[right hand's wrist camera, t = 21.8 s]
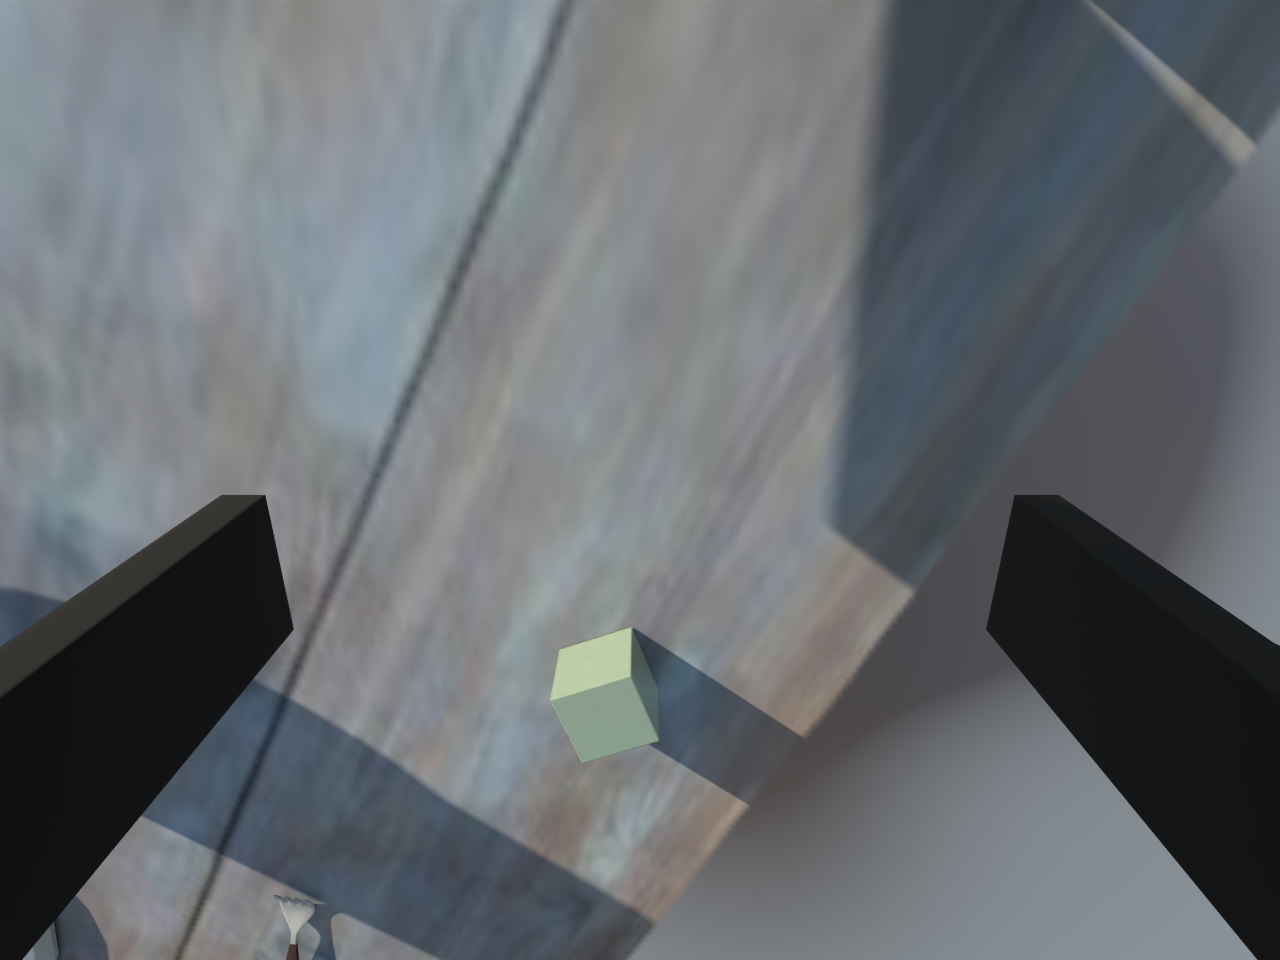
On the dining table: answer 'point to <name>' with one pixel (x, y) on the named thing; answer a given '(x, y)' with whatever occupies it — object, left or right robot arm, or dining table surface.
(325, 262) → the dining table surface
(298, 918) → the fork
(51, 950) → the wall clock
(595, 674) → the sage block
